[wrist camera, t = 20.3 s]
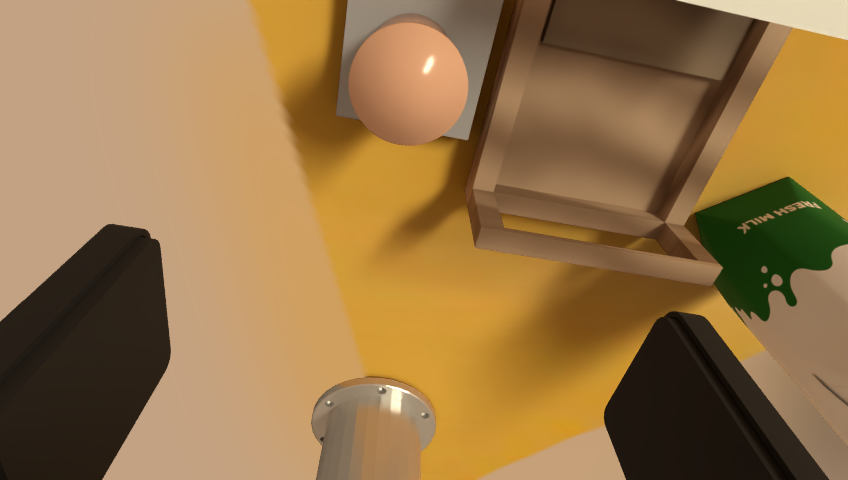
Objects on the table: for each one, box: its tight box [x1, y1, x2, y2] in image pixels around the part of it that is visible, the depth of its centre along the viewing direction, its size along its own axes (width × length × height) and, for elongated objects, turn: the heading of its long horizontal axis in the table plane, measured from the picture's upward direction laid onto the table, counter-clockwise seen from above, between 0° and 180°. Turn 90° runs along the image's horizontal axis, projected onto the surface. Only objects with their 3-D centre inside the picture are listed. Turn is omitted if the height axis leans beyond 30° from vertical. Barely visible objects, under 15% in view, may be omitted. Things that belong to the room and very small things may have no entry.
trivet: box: [336, 0, 504, 140], centre depth 31 cm, size 9×9×2 cm
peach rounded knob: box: [348, 13, 468, 145], centre depth 27 cm, size 6×6×7 cm
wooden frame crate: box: [465, 0, 793, 286], centre depth 29 cm, size 22×16×8 cm
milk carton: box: [695, 177, 848, 446], centre depth 30 cm, size 9×9×20 cm
